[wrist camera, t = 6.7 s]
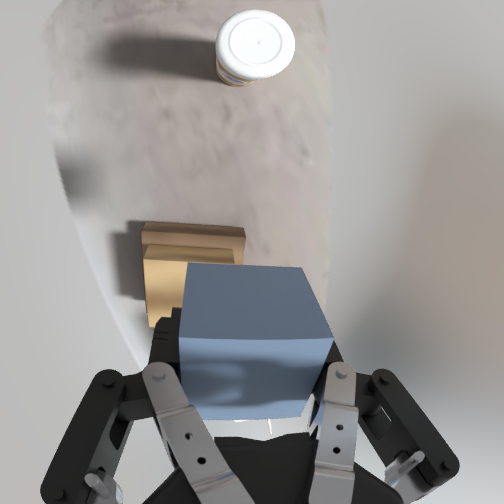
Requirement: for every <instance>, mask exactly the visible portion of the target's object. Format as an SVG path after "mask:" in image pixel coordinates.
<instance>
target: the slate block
mask: <svg viewBox="0 0 504 504" xmlns="http://www.w3.org/2000/svg"><path fill="white" fill-rule="evenodd" d="M333 340H334V336H333V334H332V332H331V330H330V328H329V325H328V323H327V322H326V319H325V316H324V314H323V312H322V310H321V308H320V306H319V303H318V301H317V299H316V297H315V295H314V293H313V291H312V289H311V286H310V284H309V282H308V280H307V278H306V276H305V274H304V272H303V270H302V268H297V267H275V266H253V265H232V264H212V263H193V262H188V264H187V271H186V278H185V286H184V294H183V303H182V311H181V320H180V330H179V353H180V369H181V384H182V388H183V391H184V393H185V395H186V397H187V399H188V401H189V403H190V404H191V405H194V406H195V408H196V409H197V411H198V413H199V415H200V417H201V419H202V420H259V419H278V418H290V417H300V416H301V414H302V412H303V410H304V407H305V405H306V403H307V401H308V399H309V397H310V395H311V392H312V390H313V388H314V386H315V383H316V381H317V379H318V376H319V374H320V372H321V369H322V367H323V365H324V362H325V360H326V357H327V355H328V353H329V350H330V348H331V345H332V343H333Z"/></svg>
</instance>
